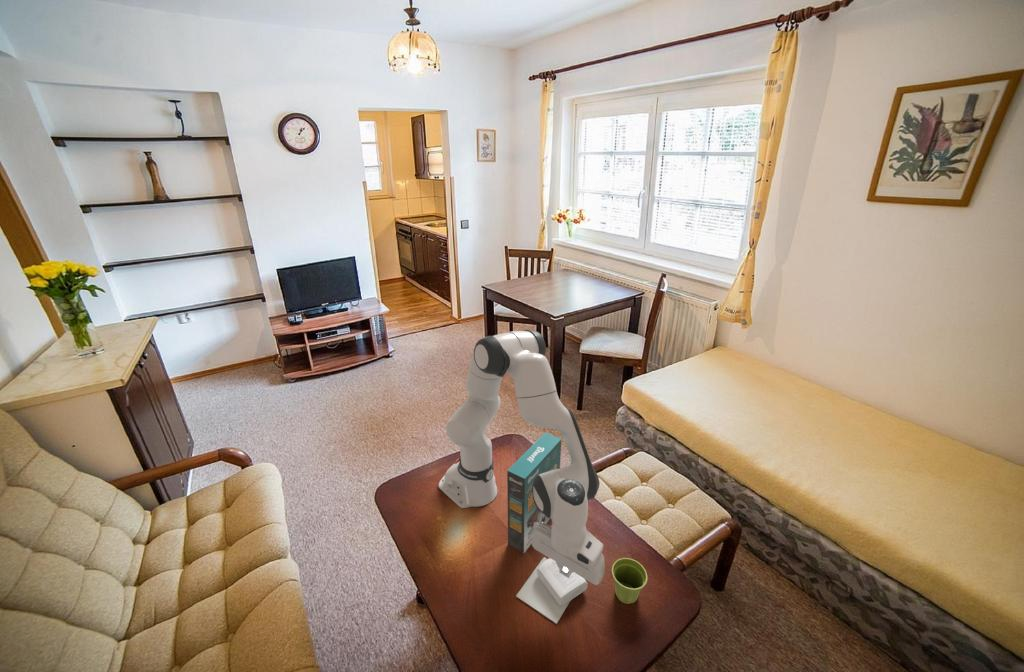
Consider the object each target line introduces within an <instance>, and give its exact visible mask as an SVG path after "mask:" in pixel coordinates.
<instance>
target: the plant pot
mask: <svg viewBox="0 0 1024 672" xmlns="http://www.w3.org/2000/svg"><path fill="white" fill-rule="evenodd" d="M611 572H612V573H611V574H612V576H613V580H614V592H615V595H616V597H617V599H618V600H619V601H620V602H621V603H623V604H626V605H631V604H634V603H635V602H636V601H637V599H638V597H639V595H640V593H641V590H642V589H643V588H644V587H645V586H646V584H647V583H648V574H647V570H646V569H645V567H644V566H643V564H641V563H640V562H639V561H637V560H635V559H632V558H629V557H622V558H618V559H617V560H616V561H615V562H614V563H613V564H612V568H611Z"/></svg>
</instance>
